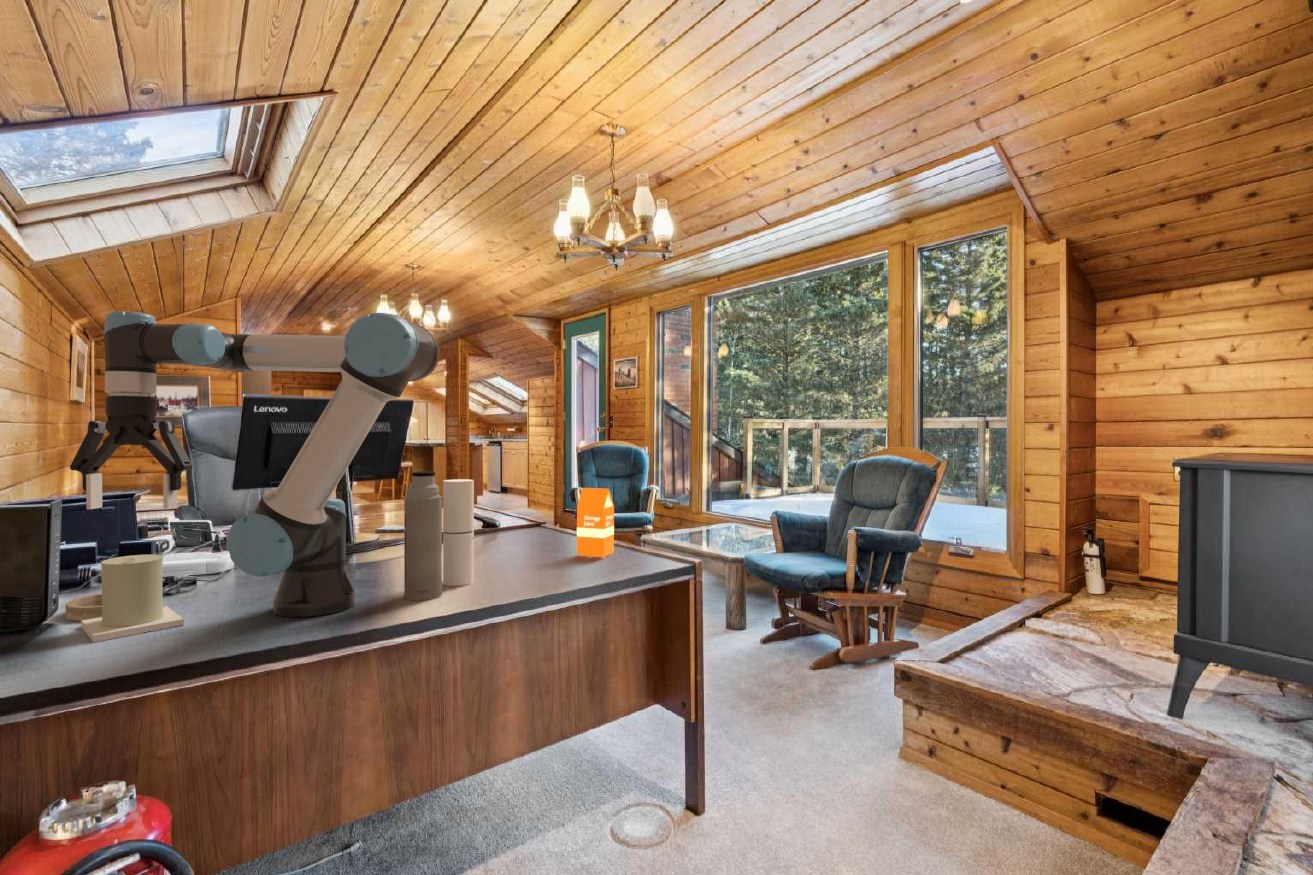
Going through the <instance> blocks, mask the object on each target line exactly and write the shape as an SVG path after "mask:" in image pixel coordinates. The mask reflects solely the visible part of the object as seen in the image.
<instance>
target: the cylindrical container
mask: <svg viewBox="0 0 1313 875" xmlns="http://www.w3.org/2000/svg"><path fill="white" fill-rule="evenodd" d="M442 481H443V482H442V484H443V485H442V486H443V487H442V585H444V586H448V587H460V586H461V587H463V586H467V585H471V584H473V583H474V580H475V579H474V577H475V576H474V574H475V573H474V572H475V571H474V569H475V568H474V564H475V563H474V562H475V560H474V559H475V558H474V556H475V555H474V554H475V551H474V550H475V549H474V548H475V535H474V534H475V532H474V531H475V529H474V528H475V527H474V526H475V520H474V519H475V513H474V512H475V507H474V506H475V496H474V495H475V494H474V493H475V491H474V490H475V486H474V485H475V481H474V479H470V478H469V479H464V478H463V479H462V478H459V479H458V478H457V479H456V478H455V479H444V480H442Z"/></svg>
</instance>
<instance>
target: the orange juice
mask: <svg viewBox="0 0 1313 875" xmlns="http://www.w3.org/2000/svg"><path fill="white" fill-rule="evenodd" d="M614 518H615V506H614V502H613V498H612V495H611V492H610V488H598V487H595V488H593V487H582V489H581V493H580V496H579V500H578V502H577V506H576V521H577V522H576V555H577V554H580V555H589V556H598V557H605V556H607V555H609V554H612V553H614V552H615V550H614V549H615V547H614V546H615V544H614V543H615V541H614V540H615V539H614V538H615V519H614ZM612 555H613V554H612Z"/></svg>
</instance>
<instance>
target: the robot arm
mask: <svg viewBox="0 0 1313 875" xmlns="http://www.w3.org/2000/svg"><path fill="white" fill-rule="evenodd" d="M156 320H157V319H156V317H155V316H153V315H152V314H150V313H144V312H138V311H137V312H136V311H125V310H124V311H123V310H121V311H118V310H117V311H110V312H108V313H107V314H106V316H105V319H104V331H103V335H102V336H103V340H104V358H105V359H104V362H105V365H104V366H105V368H104V370H105V371H104V392H105V393H106V394H109V395H107V396H106V397H105V398H104V399H105V401H104V404H105V406H104V408H105V409H104V410H105V415H106V417H107V421H106V422H105V421H103V420H90V421H89V422H88V423H87V430H86V431H87V432H86V434H85V436H84V438H83V440H82V443H81V444H80V446H79V448H78V450H77V452H76V454H75V456H74V458H73V459H72V462H71V464H70V466H69V468H70V470H71V471H77V472H79V473H81V475H82V490H83V492H86V497H85V498H86V510H94V509H102V508H103V473H101V472H100V471H99V470H100V469H101V468H102V466H104V464H105V463H106V462H108V460H109V459H110V457H112V456H113V454H114V453H115V452H116V451H117V449H118V448H120V447H122V446H142V447H144V448H146V450H147V451H149V453H150V454H151V455H152V456H153V457H154V459H155V460H156V461H157V462H158V463H159V464H160V465H161V466H162V467H163V468H164V469H165V471H166V472H165V473H163V474H162V482H163V484H162V485H163V486H162V490H163V492H162V494H163V495H162V499H163V501H162V502H163V507H162V508H163V509H164V510H167V509H168V510H169V509H173V508H174V509H175V508H178V491H180V490H181V489H182V474H183V472H185V471H188V470H191V469H193V463H192V462H191V460H190V458H189V456H188V454H187V452H186V450H185V449H184V446H183V445H182V442H181V440H180V439H179V437H178V435H177V434H176V428H175V423H174V422H173V421H168V420H165V421H164V420H162V421H159V422H157V421H156V417H157V415H158V406H157V405H158V403H157V402H158V401H157V400H158V399H157V398H156V397H154V396H153V395H156V394H157V368H158V367H157V365H184V366H185V365H186V366H193V367H203V368H210V369H218V370H219V369H220V370H224V371H229V372H235V373H245V372H247V373H248V372H251V371H266V372H267V371H270V372H272V371H274V372H315V373H316V372H317V373H319V372H323V373H324V372H327V373H329V372H330V373H331V372H332V373H340V374H341V378H342V379H341V381H340V383H339V384H338V386H337V388H336V390H335V391H334V393H333V394H332V397H331V398H330V400H329V401H328V403H327V405H326V407H325V408H324V410H323V411H322V413H321V415H320V417H319V418H318V419H317V421H316V423H315V425H314V426H313V428H312V429H311V432H310V434H308V437H307V438H306V440H305V441H304V443H303V445H302V446H301V448H300V450H299V452H298V453H297V455H296V457H295V459H293V462H292V463H291V465H290V467H289V468H288V470H287V472H286V473H285V475H284V476H283V479H281V482H280V483H279V485H278V487H276V488H274V489H269V490H267V491H265V492H264V493H263V494H262V496H261V497H260V499H259V501H258V503H257V504H256V506H255V507H254V509H253V511H252V513H248V514H246V515H242V517H240V518H238V519H237V520H235V521H234V523H233V524H232V525H231V526H230V528H229V530H228V532H227V535H226V549H227V551H228V553H229V555H230V556H229V558H230V559H231V562H233V564H234V565H235V566H236V568H238V569H240V570H241V571H242V572H243V573H245V574H247V575H250V576H253V577H260V578H261V577H264V578H265V577H268V576H274V575H280V574H282V575H281V578H280V580H279V581H280V582H279V584H278V586H277V590H276V592H275V595H274V598H273V602H272V612H273V614H275V615H277V616H280V617H287V618H288V617H289V618H304V617H305V618H306V617H317V616H323V615H330V614H333V613H337V612H341V611H345V610H347V609H349V608H351V607H353V606H354V605H355V603H356V602H355V601H356V600H355V599H356V598H355V597H356V596H355V595H356V594H355V590H354V587H353V585H352V581H351V579H350V576H349V573H348V571H347V565H346V563H347V562H346V560H347V559H346V554H347V552H346V550H347V547H346V545H347V544H346V542H347V541H346V539H347V535H346V534H347V531H346V530H347V513H346V503H345V502H344V500H342V499H340V498H335V497H334V498H330V497H331V496H332V494H333V492H334V491H335V490H336V487H337V486H338V484H339V482H340V481H341V479H342V477H343V476H344V475H345V472H346V471H347V469H348V468H349V465H351V463H352V460H353V459H354V457H355V456H356V455H357V452H358V451H359V449H360V447H361V446H362V444H363V442H364V441H365V439H366V437H367V436H368V435H369V432H370V431H371V429H372V427H373V426H374V424H375V422H376V421H377V419H378V418H379V415H380V414H381V412H382V410H383V409H384V407H385V406H386V404H387V403H388V402H389V401H392V400H397V399H400V397H401V396H402V393H403V392H404V391H405V389H406V387H407V385H408V384H409V382H417V381H421V380H423V379H425V378H427V377H429V375H431V374H432V373H433V372H434V371H435V370H436V368H437V366H438V364H439V361H440V347H439V344H438V342H437V340H436V338H435V337H434V335H433V334H432V333H431V332H430V331H429V330H428V329H426V328H425V327H423V326H422V325H419V324H416V323H413V322H412V321H409V320H407V319H406V318H404V317H401V316H399V315H397V314H392V313H387V312H386V313H385V312H374V313H369V314H365V315H363V316H361V317H360V318H358V319H357V320H355V321H354V322H353V323H352V324H351V325H350V326H349V328H348V330H347V331H346V334H345V335H329V334H328V335H318V334H315V335H314V334H311V335H310V334H256V333H255V334H252V333H251V334H248V333H228V332H223V331H219V330H218V329H217V328H216V327H215V326H213V325H211V324H202V323H201V324H200V323H195V322H193V323H192V322H190V323H166V324H165V323H161V324H159V323H157V321H156ZM106 432H108V435H107V436H106V437H105V439H104V440H103V438H104V435H105V433H106ZM156 432H157V433H159V435H160V437H161V440H162V441H163V443H164V445H165V447H166V448H165V447H164V446H163V445H162V444H161V440H160V439H159V438H158V437H157V436H156V435H155V433H156ZM102 440H103V441H102ZM101 442H102V444H101V445H100V443H101Z"/></svg>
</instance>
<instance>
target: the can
mask: <svg viewBox="0 0 1313 875" xmlns="http://www.w3.org/2000/svg"><path fill="white" fill-rule="evenodd" d="M163 559H164V556H163V555H162V554H149V553H148V554H135V555H134V554H133V555H124V556H117V557H111V558H107V559H104V560H103V561H101V562H100V567H101V594H102V621H101V625H102V626H105V627H125V626H133V625H139V624H144V623H148V622H152V621H155V620H158V619H160V618H162V617H163V616H164V613H163V607H164V606H163V605H164V604H163V597H164V596H163V595H164V594H163V566H164V565H163V564H164V563H163V562H164V560H163Z"/></svg>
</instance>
